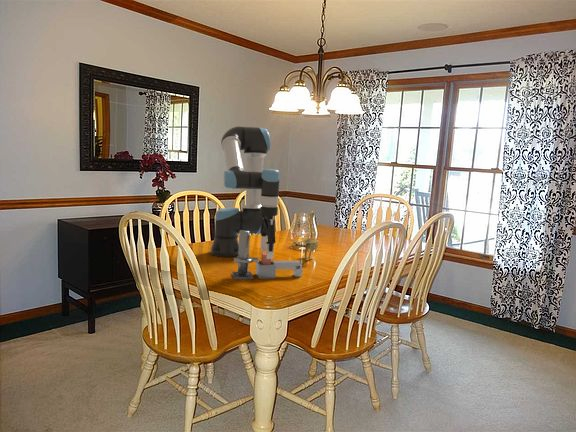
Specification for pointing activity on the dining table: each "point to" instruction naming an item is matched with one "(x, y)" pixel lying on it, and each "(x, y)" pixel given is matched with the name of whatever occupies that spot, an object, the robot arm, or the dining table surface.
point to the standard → (243, 257)
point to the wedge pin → (265, 259)
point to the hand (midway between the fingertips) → (266, 254)
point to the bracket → (270, 270)
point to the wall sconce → (310, 240)
